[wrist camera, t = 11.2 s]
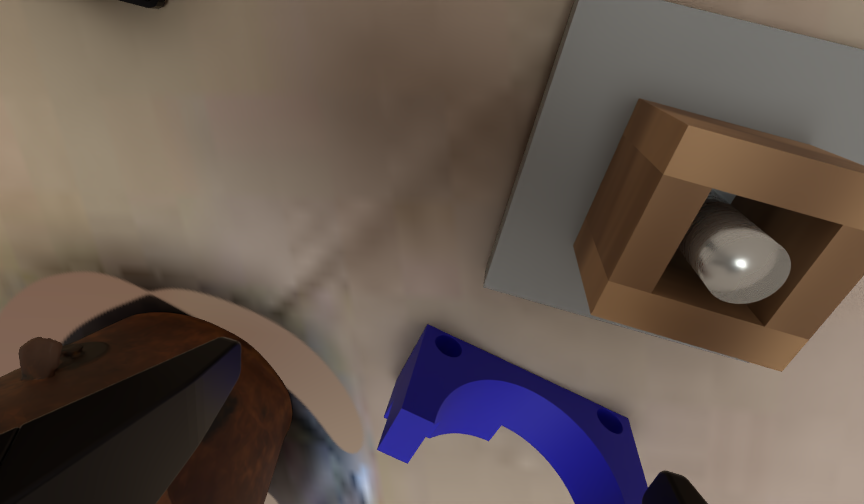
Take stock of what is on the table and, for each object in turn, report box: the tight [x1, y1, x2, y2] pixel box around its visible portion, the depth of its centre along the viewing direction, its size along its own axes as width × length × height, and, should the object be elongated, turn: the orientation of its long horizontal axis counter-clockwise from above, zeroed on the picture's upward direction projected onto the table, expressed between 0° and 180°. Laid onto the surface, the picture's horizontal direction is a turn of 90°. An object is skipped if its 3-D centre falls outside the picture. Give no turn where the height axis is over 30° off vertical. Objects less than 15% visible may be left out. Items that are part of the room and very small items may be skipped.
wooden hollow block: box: [573, 98, 864, 372], centre depth 14 cm, size 6×6×5 cm
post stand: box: [483, 0, 864, 363], centre depth 15 cm, size 12×12×7 cm
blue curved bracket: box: [377, 324, 648, 504], centre depth 22 cm, size 12×4×6 cm, turn 67°
